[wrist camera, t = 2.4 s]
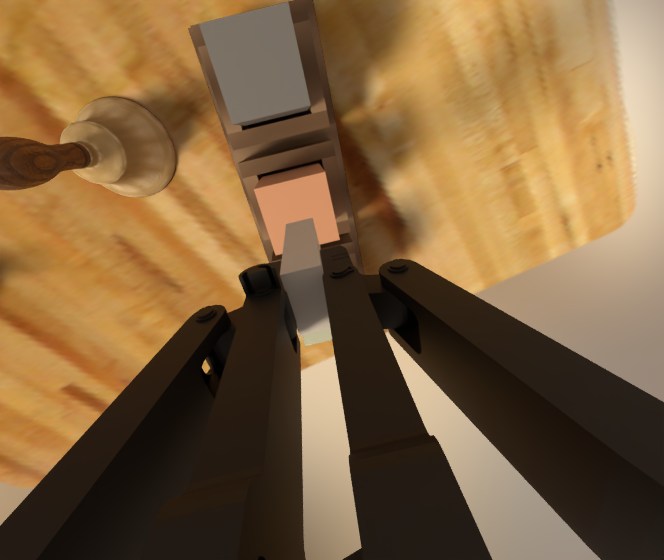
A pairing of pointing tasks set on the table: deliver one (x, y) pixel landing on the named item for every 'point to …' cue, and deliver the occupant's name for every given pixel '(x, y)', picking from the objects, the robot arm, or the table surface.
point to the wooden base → (290, 135)
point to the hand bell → (97, 151)
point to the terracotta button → (296, 203)
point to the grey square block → (257, 64)
